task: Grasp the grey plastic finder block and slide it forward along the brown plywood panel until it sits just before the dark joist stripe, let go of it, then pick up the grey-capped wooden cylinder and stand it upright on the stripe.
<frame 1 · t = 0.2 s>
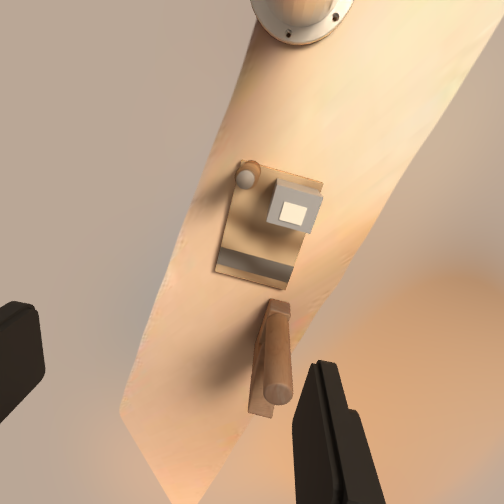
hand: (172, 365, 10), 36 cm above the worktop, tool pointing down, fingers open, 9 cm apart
finder block: (291, 200, 42), point 1 cm above the worktop, touching panel
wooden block: (271, 324, 52), on the worktop
panel: (265, 228, 45), on the worktop
grey-capped wooden cylinder: (251, 170, 41), point 1 cm above the worktop, touching panel
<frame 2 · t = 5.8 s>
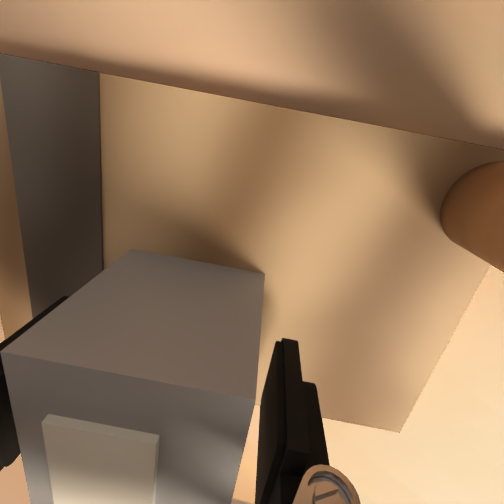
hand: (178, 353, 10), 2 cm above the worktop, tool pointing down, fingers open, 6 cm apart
finder block: (190, 327, 12), point 1 cm above the worktop, touching panel
panel: (225, 267, 12), on the worktop
grey-capped wooden cylinder: (487, 207, 9), point 1 cm above the worktop, touching panel
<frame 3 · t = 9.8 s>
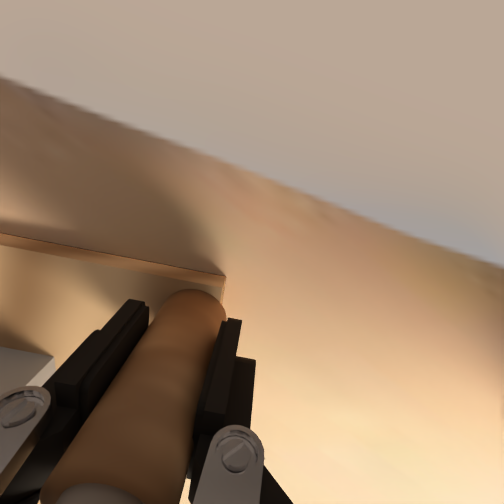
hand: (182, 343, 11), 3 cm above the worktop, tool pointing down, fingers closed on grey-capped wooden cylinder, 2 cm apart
finder block: (12, 392, 15), point 1 cm above the worktop, touching panel
panel: (39, 345, 15), on the worktop
grey-capped wooden cylinder: (194, 317, 12), point 1 cm above the worktop, touching gripper, panel
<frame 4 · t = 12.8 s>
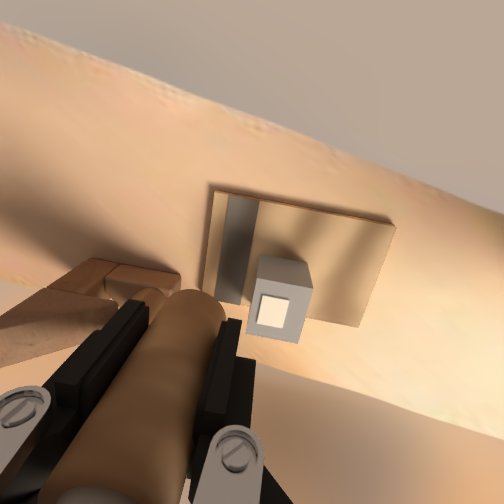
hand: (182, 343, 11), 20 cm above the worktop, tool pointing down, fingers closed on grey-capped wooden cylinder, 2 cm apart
finder block: (277, 283, 31), point 1 cm above the worktop, touching panel
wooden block: (136, 278, 34), on the worktop
panel: (291, 260, 31), on the worktop
grey-capped wooden cylinder: (193, 318, 12), point 19 cm above the worktop, touching gripper
when the fingers open (4 cm above the worktop, at t = 15.9 s): grey-capped wooden cylinder stays where it is, resting on panel.
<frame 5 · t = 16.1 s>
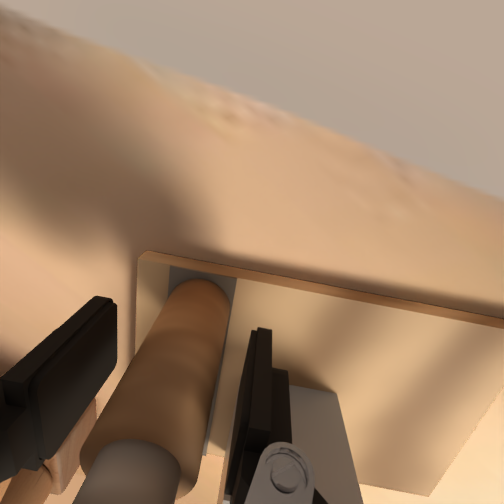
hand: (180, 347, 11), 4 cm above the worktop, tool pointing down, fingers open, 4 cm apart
finder block: (277, 424, 16), point 1 cm above the worktop, touching panel
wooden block: (18, 396, 19), on the worktop
panel: (302, 380, 16), on the worktop
grey-capped wooden cylinder: (199, 305, 13), point 1 cm above the worktop, touching panel
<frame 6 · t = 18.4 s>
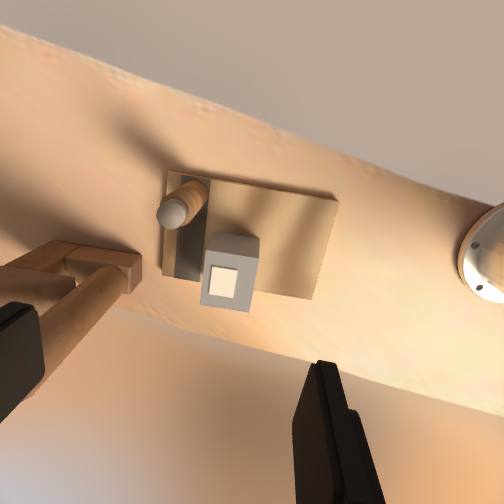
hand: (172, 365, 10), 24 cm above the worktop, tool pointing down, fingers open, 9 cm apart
finder block: (233, 259, 33), point 1 cm above the worktop, touching panel
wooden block: (99, 259, 35), on the worktop
panel: (245, 237, 33), on the worktop
grey-capped wooden cylinder: (195, 193, 30), point 1 cm above the worktop, touching panel
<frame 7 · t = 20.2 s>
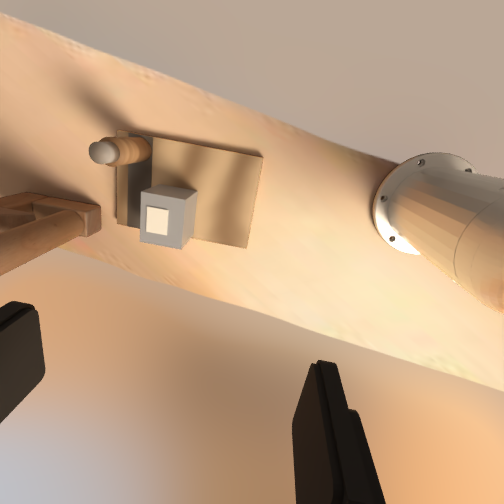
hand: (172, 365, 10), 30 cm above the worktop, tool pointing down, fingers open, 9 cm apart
finder block: (176, 210, 38), point 1 cm above the worktop, touching panel
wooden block: (65, 210, 41), on the worktop
panel: (187, 191, 38), on the worktop
grey-capped wooden cylinder: (140, 149, 36), point 1 cm above the worktop, touching panel
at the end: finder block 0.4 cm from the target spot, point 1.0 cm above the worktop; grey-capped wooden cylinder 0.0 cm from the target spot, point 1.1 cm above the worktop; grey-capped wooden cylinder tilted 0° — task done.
